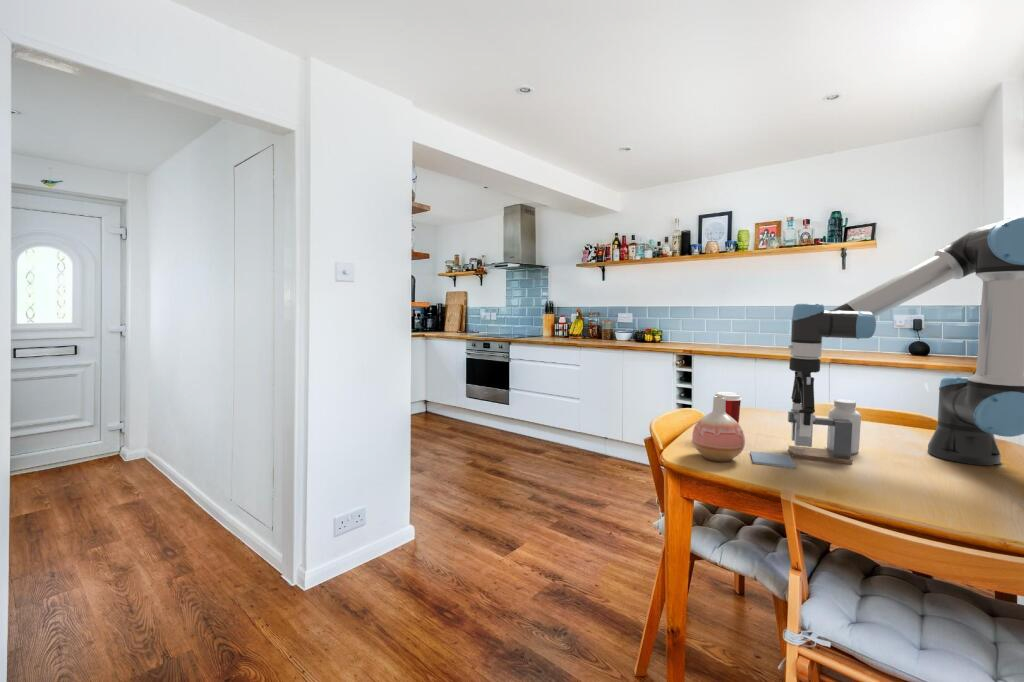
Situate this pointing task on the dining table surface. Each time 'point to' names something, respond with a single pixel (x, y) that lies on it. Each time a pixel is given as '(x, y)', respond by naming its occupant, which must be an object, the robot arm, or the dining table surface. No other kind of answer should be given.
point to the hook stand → (838, 442)
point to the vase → (718, 434)
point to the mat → (772, 459)
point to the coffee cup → (731, 404)
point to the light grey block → (796, 429)
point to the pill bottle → (847, 411)
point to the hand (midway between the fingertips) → (800, 430)
